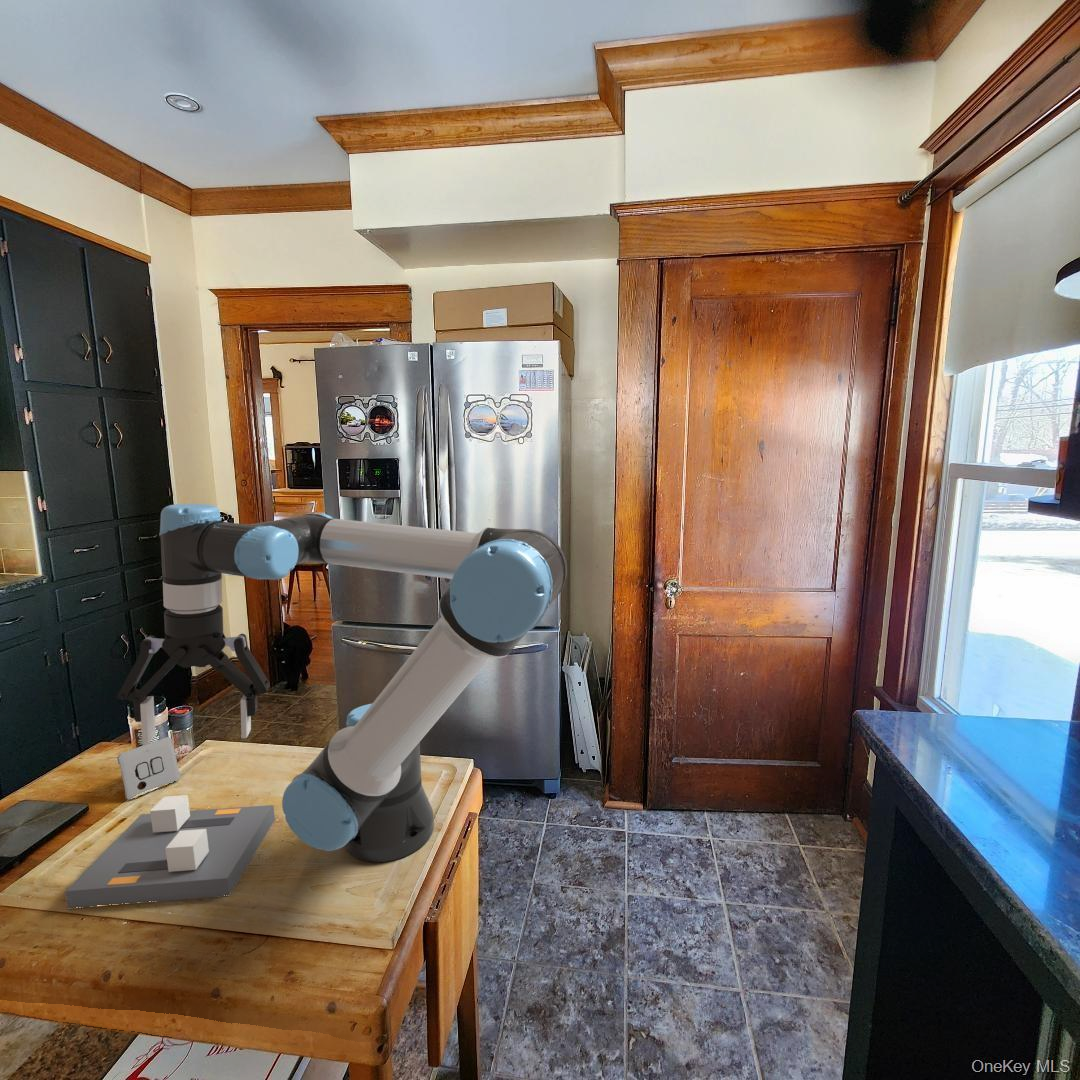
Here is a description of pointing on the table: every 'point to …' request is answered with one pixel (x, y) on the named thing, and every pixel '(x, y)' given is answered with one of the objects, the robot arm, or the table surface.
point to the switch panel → (142, 865)
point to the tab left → (187, 850)
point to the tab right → (170, 813)
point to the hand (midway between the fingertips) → (198, 736)
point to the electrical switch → (148, 767)
